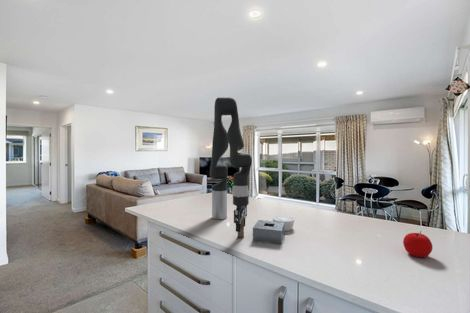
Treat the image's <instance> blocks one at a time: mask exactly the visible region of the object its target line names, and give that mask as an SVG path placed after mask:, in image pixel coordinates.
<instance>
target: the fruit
mask: <svg viewBox="0 0 470 313" xmlns="http://www.w3.org/2000/svg"><path fill="white" fill-rule="evenodd" d="M402 244H403V247H404V249H405V251H406V252H407V253H408V254H409V255H410V256H413V257H416V258H427V257H428V256H429V255H430V254H431V253H432V251H433V244H432V241H431V239H430V238H429V237H428V236H427V235H425V234H423V233H422V230H420V231H419V232H410V233H407V234H406V235H405V236H404V237H403V241H402Z"/></svg>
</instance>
